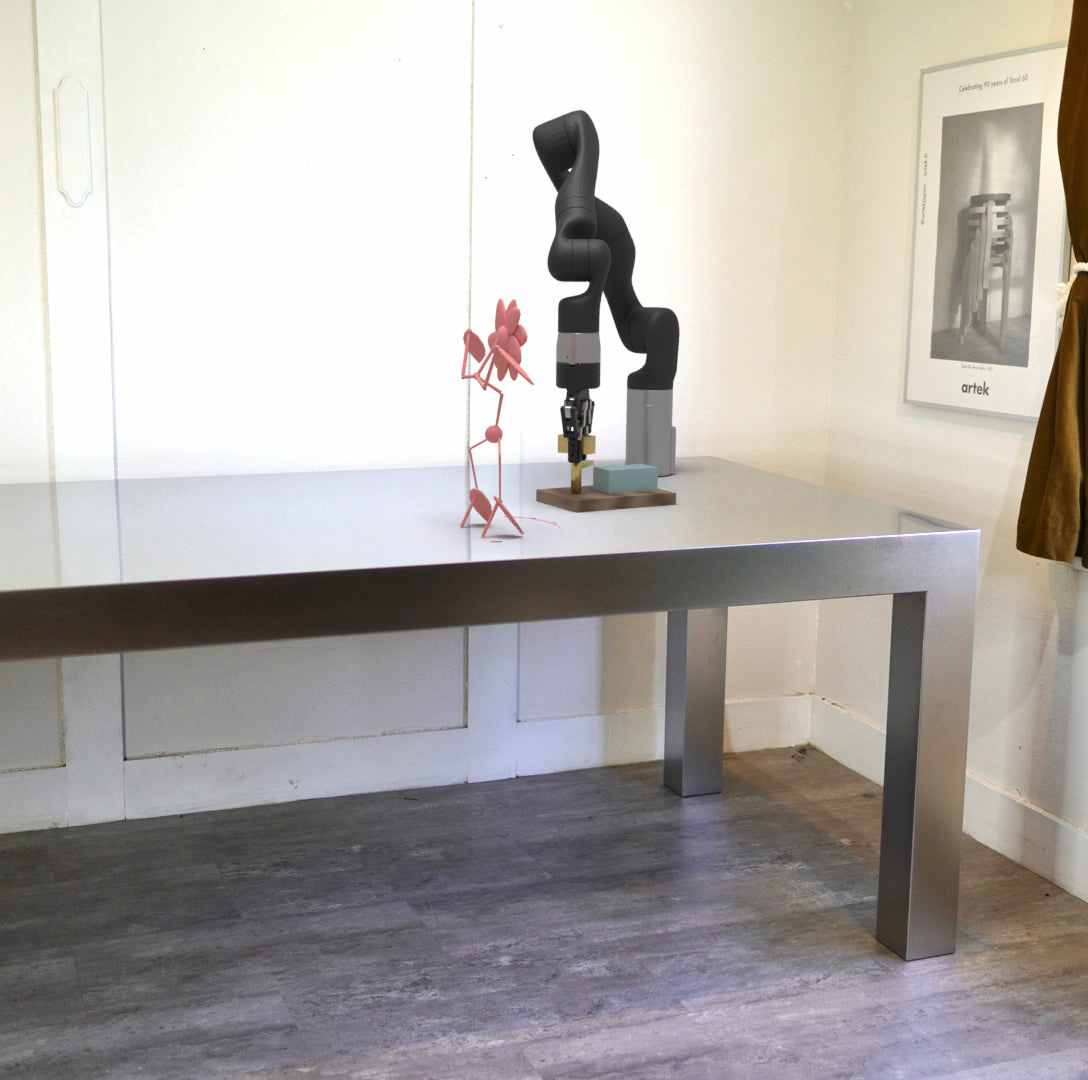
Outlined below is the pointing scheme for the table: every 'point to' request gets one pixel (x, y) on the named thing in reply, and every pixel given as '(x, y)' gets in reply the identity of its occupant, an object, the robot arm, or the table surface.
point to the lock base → (603, 499)
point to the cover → (625, 478)
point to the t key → (576, 468)
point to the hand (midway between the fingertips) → (577, 461)
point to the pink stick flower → (505, 357)
